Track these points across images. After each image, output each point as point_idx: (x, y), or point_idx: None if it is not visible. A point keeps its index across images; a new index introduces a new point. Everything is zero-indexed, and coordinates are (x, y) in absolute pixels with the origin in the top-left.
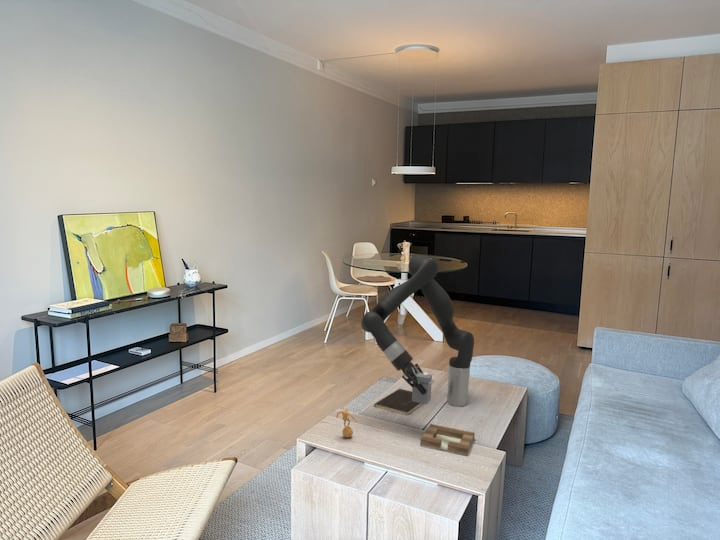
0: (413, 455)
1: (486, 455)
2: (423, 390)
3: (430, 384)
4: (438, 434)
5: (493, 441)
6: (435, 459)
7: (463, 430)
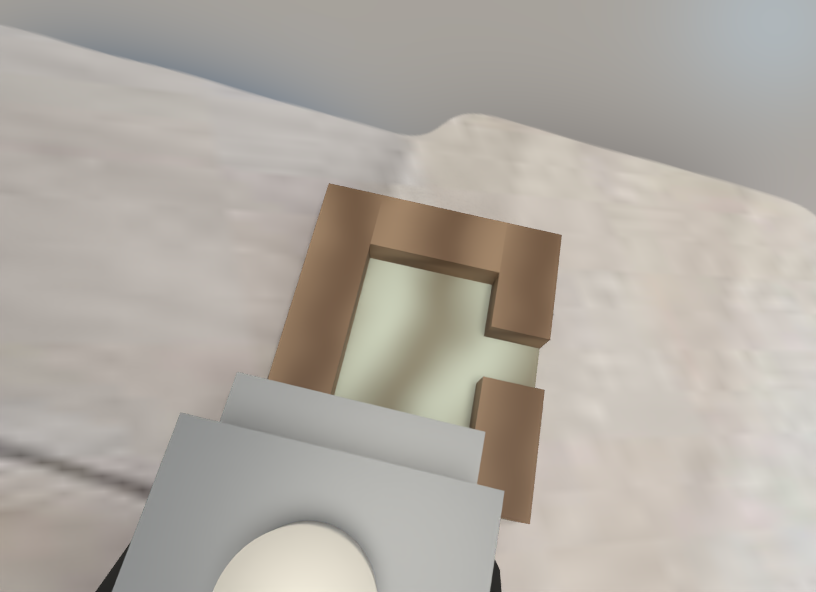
0: (658, 556)
1: (505, 166)
2: (496, 574)
3: (480, 443)
4: None
5: (335, 120)
6: (651, 416)
7: (311, 241)
